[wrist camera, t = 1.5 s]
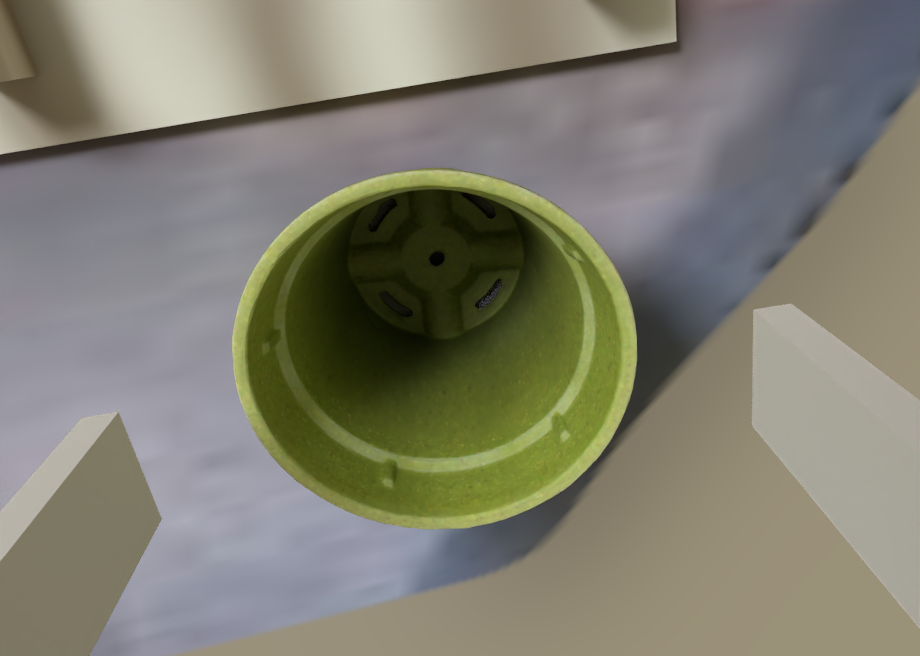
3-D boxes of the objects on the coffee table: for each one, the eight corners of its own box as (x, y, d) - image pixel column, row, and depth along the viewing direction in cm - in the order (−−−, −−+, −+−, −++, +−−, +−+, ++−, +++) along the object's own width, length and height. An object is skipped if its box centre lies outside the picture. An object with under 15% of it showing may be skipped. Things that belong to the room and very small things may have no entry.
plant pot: (462, 419, 27) (475, 586, 19) (246, 283, 24) (157, 412, 16) (625, 228, 24) (721, 332, 16) (400, 52, 22) (384, 73, 14)
